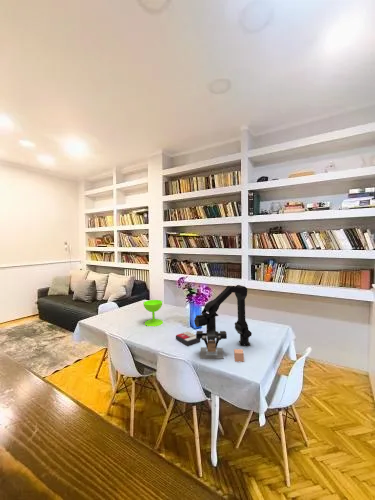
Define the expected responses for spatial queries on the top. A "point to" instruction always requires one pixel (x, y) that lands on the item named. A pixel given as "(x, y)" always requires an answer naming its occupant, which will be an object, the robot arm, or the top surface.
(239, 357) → the top block
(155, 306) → the wineglass
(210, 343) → the base block
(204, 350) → the build plate
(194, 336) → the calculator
